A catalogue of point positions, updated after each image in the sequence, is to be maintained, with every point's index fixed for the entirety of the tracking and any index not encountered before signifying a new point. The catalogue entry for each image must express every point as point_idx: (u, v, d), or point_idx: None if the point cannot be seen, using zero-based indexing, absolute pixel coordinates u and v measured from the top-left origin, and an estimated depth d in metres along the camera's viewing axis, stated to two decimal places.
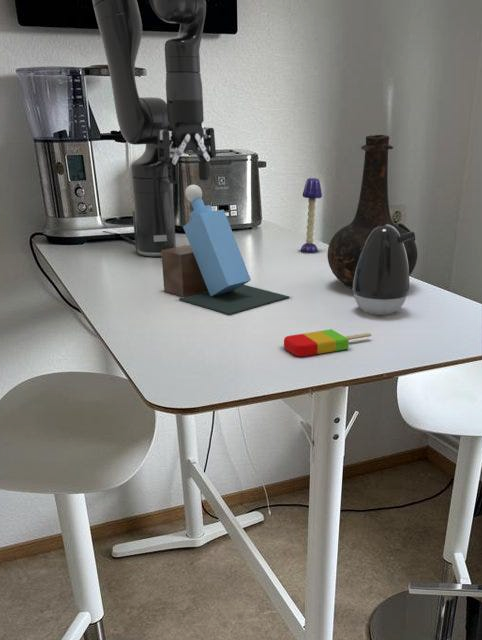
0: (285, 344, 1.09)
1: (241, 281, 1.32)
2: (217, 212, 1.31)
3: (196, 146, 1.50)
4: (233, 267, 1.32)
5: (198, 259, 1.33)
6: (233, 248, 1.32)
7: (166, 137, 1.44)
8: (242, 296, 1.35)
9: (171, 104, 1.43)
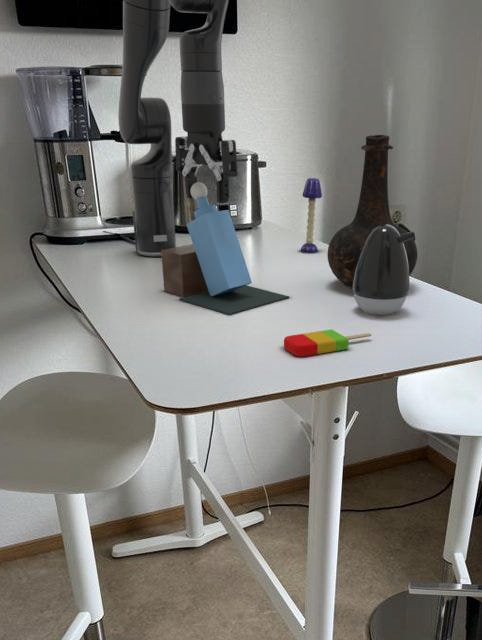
0: (285, 344, 1.09)
1: (242, 284, 1.32)
2: (222, 212, 1.30)
3: None
4: (235, 269, 1.31)
5: (200, 258, 1.33)
6: (236, 250, 1.32)
7: (177, 144, 1.29)
8: (242, 296, 1.35)
9: None
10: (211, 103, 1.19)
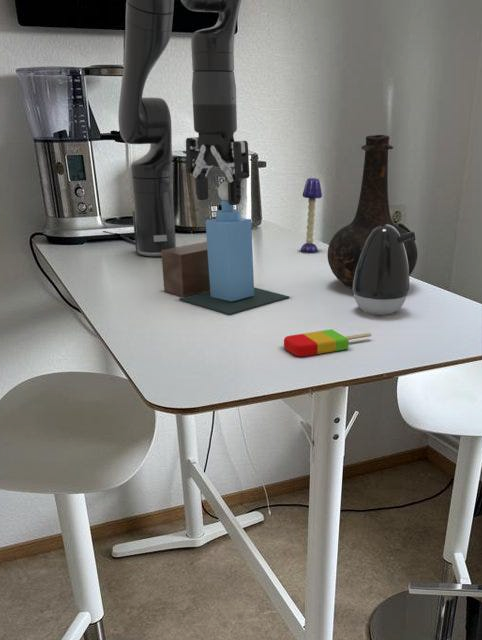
0: (285, 344, 1.09)
1: (245, 296, 1.33)
2: (244, 222, 1.27)
3: (218, 161, 1.23)
4: (241, 282, 1.31)
5: (210, 258, 1.31)
6: (248, 262, 1.31)
7: (187, 145, 1.27)
8: None
9: None
10: (223, 103, 1.17)
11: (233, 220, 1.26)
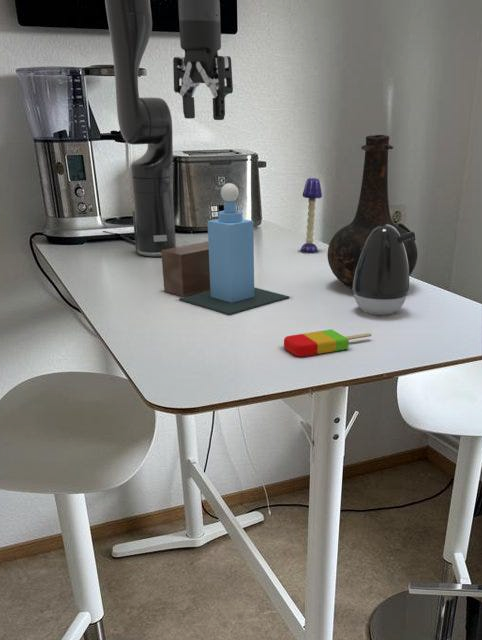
0: (285, 344, 1.09)
1: (245, 298, 1.33)
2: (246, 224, 1.27)
3: None
4: (242, 283, 1.31)
5: (211, 259, 1.31)
6: (249, 263, 1.31)
7: (174, 65, 1.34)
8: None
9: None
10: (207, 19, 1.25)
11: (235, 222, 1.26)
